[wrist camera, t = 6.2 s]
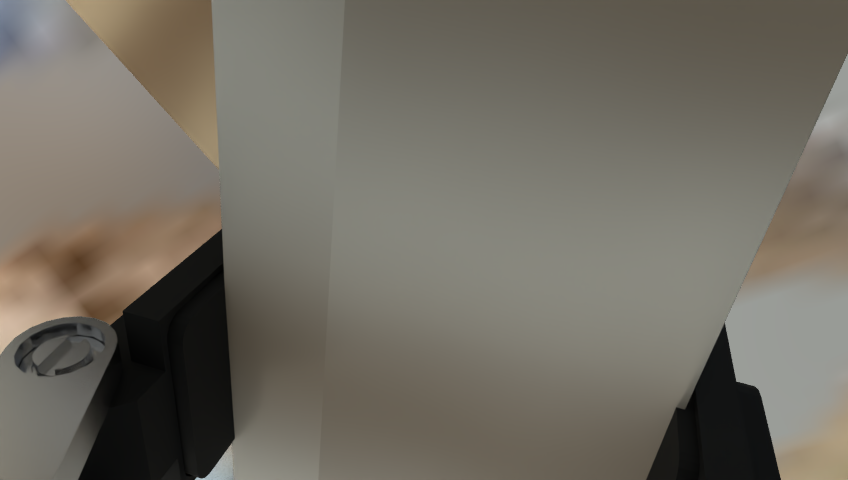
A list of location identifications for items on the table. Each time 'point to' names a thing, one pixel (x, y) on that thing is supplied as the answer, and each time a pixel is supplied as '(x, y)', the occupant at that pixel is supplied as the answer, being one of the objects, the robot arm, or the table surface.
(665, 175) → the grey long block
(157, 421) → the robot arm
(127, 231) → the table surface
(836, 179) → the table surface
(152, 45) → the oak plank
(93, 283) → the table surface
